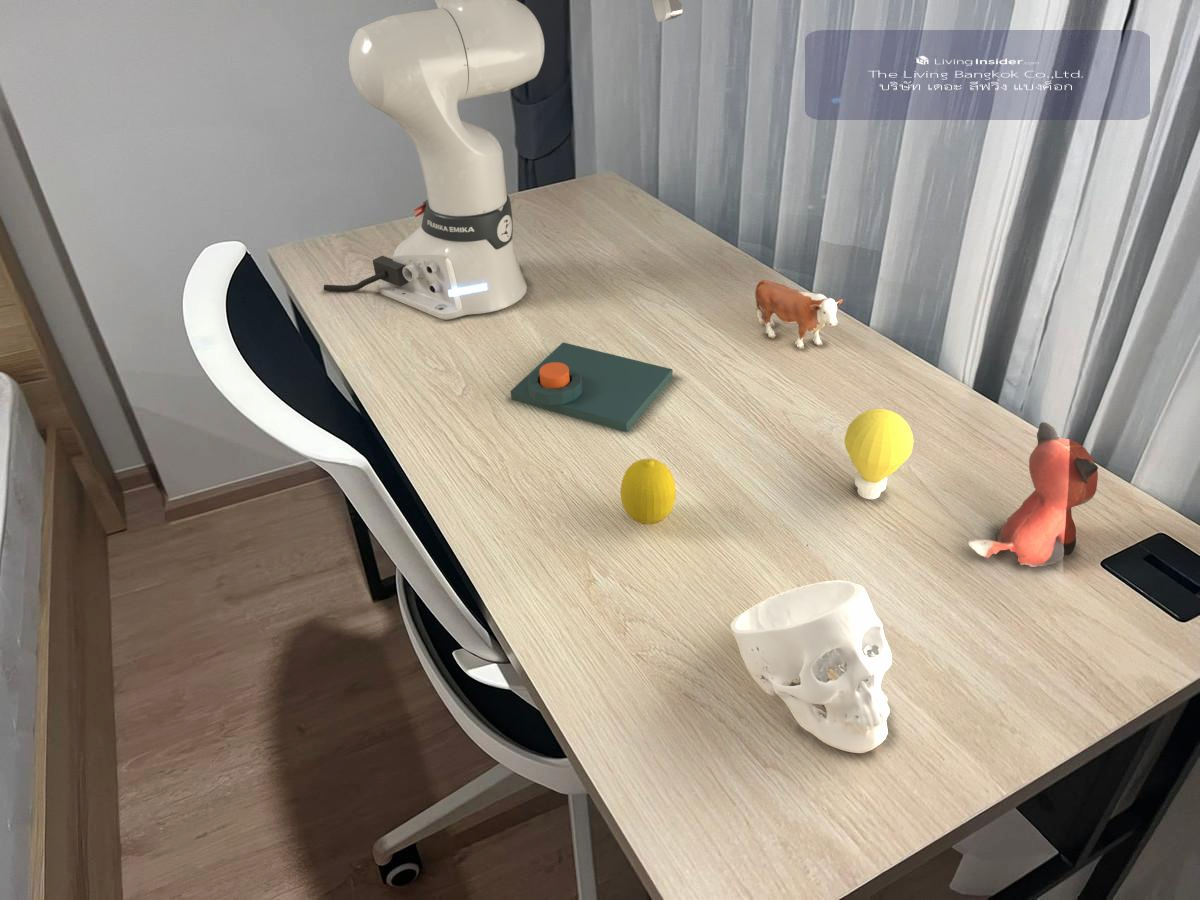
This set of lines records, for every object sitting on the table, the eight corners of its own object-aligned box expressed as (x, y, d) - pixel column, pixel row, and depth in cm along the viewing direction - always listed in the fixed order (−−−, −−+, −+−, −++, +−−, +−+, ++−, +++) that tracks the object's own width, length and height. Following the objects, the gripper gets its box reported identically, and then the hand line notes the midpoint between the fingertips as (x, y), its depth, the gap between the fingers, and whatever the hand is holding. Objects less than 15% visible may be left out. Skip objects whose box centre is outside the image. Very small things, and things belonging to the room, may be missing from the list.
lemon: (671, 543, 90) (672, 481, 85) (616, 537, 91) (615, 475, 86) (678, 507, 94) (680, 446, 90) (626, 502, 95) (625, 441, 91)
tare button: (534, 385, 109) (533, 373, 108) (549, 371, 112) (548, 359, 111) (560, 392, 108) (559, 380, 107) (575, 378, 110) (574, 366, 109)
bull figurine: (825, 365, 116) (833, 309, 111) (746, 328, 124) (750, 274, 119) (846, 353, 118) (854, 297, 113) (766, 317, 126) (771, 264, 121)
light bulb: (824, 482, 97) (835, 406, 91) (875, 466, 99) (890, 389, 93) (862, 520, 92) (876, 441, 86) (915, 501, 94) (933, 423, 88)
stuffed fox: (944, 539, 89) (970, 442, 82) (1032, 508, 93) (1065, 412, 85) (998, 589, 84) (1031, 490, 76) (1090, 554, 87) (1130, 456, 80)
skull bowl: (844, 790, 66) (798, 638, 65) (739, 735, 79) (698, 607, 77) (945, 724, 70) (904, 580, 69) (830, 682, 83) (793, 560, 81)
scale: (508, 403, 111) (505, 382, 109) (563, 351, 121) (562, 331, 119) (623, 436, 105) (623, 415, 103) (672, 378, 114) (672, 358, 112)
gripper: (781, -193, 71) (813, -7, 75) (544, -157, 66) (592, 42, 69) (827, -234, 66) (860, -30, 69) (571, -199, 60) (622, 21, 64)
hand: (724, 6), depth 69 cm, fingers open, 8 cm apart
